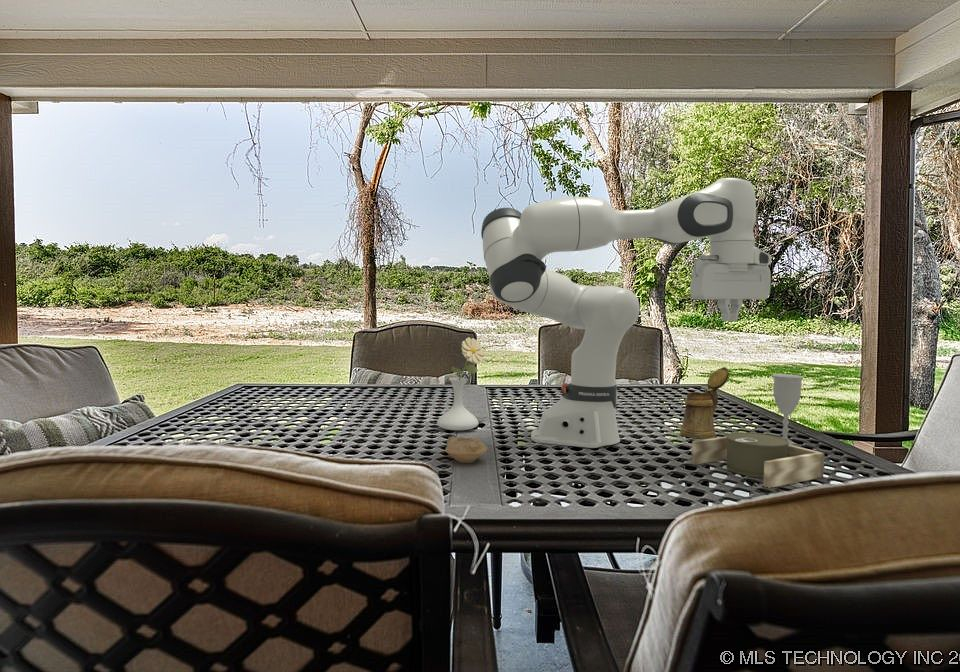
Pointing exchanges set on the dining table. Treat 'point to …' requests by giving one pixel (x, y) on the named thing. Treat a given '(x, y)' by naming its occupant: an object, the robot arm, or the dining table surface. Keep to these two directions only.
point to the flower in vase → (457, 413)
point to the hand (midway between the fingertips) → (729, 321)
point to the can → (753, 452)
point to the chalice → (787, 396)
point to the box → (767, 462)
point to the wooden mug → (703, 408)
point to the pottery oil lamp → (465, 449)
